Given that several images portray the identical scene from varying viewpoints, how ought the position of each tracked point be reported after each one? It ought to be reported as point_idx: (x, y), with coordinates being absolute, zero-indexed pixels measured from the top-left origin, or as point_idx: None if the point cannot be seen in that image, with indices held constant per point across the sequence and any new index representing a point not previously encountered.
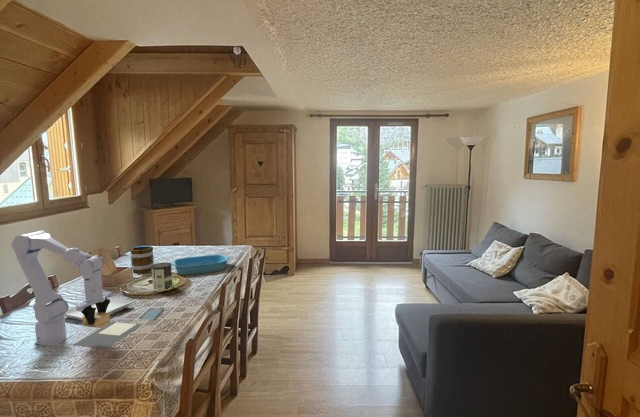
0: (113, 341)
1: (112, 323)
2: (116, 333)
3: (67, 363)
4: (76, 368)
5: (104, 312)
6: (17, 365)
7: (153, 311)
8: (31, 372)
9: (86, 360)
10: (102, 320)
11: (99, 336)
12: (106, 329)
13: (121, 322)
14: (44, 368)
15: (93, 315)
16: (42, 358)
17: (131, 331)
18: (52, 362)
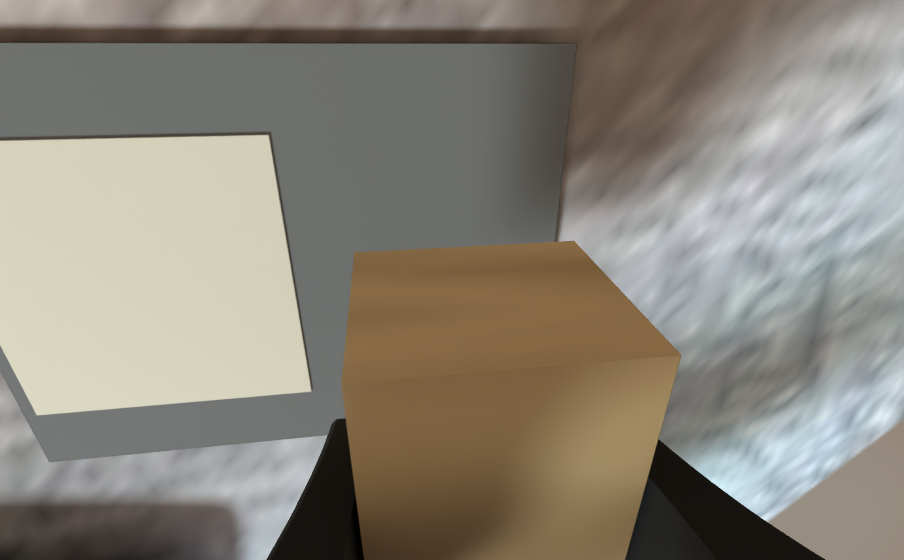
0: (410, 91)
1: (80, 431)
2: (240, 211)
3: (793, 221)
4: (897, 65)
5: (344, 514)
6: (763, 486)
7: None
8: (865, 355)
9: (769, 88)
10: (579, 307)
11: None
12: (214, 382)
13: (1, 368)
14: (832, 322)
15: (732, 536)
16: (698, 438)
17: (100, 49)
18: (759, 340)
